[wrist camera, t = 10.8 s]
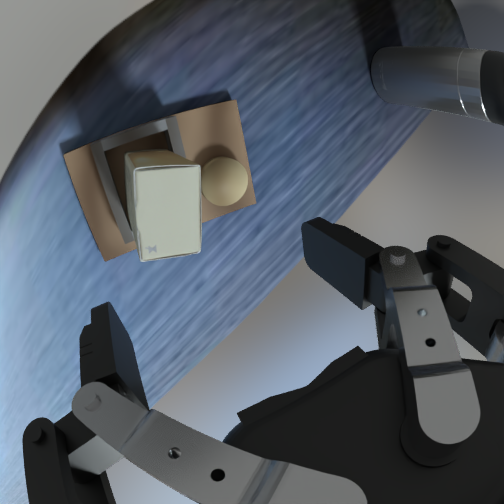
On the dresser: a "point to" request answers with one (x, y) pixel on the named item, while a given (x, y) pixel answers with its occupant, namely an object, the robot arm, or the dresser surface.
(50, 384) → the dresser surface
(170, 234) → the skincare box
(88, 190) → the carrier plate
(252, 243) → the dresser surface
